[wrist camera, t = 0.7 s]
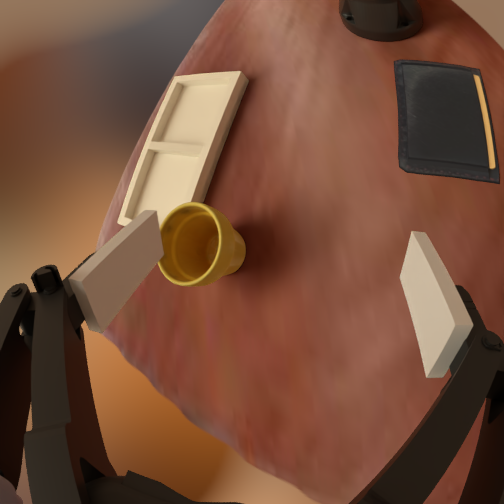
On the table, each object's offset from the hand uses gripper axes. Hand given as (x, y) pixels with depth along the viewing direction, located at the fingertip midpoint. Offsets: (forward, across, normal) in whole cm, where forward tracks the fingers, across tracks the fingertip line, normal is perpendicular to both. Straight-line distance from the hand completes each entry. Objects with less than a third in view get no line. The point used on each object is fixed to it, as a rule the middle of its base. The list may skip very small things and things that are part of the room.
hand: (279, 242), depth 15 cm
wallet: (+30, +20, +6) cm, 37 cm away
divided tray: (+36, -21, -4) cm, 42 cm away
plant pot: (+24, -10, -16) cm, 30 cm away
